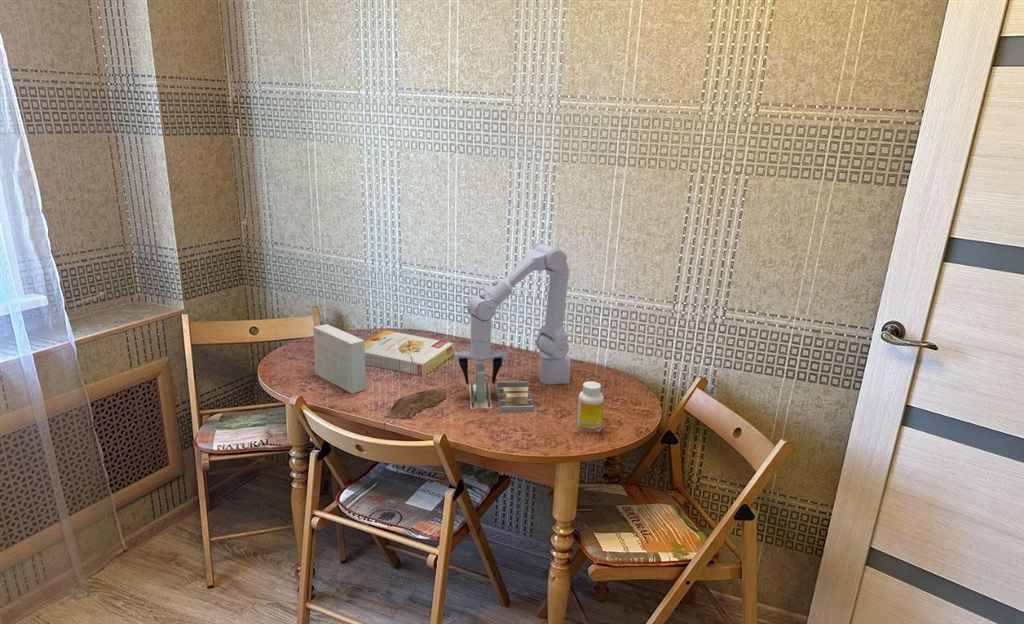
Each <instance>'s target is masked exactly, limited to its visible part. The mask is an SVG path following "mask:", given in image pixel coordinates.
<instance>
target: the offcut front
mask: <svg viewBox="0 0 1024 624" xmlns="http://www.w3.org/2000/svg"><path fill="white" fill-rule="evenodd" d="M506 406H528V394H527V393H506Z"/></svg>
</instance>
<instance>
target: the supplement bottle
mask: <svg viewBox="0 0 1024 624" xmlns="http://www.w3.org/2000/svg"><path fill="white" fill-rule="evenodd" d="M601 388H602V385H601V383H599V382H596V381H589V380H588V381H585V382H583V384H582V391H580V392H579V394H578V401H577V402H578V403H577V416H576V418H577V419H576V426H577V428H578V429H579V430H582V431H586V432H596V431H597V433H599V432H601V430H602V425H603V413H604V412H603V411H604V399H605V398H604V395H603V394H602V392H601V390H602V389H601Z"/></svg>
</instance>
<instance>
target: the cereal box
mask: <svg viewBox="0 0 1024 624" xmlns="http://www.w3.org/2000/svg"><path fill="white" fill-rule="evenodd" d="M364 344H365V366H371V367H375V368H376V367H377V368H380V369H385V368H386V370H390V369H391V370H392V369H393V370H392V371H395V370H398V371H397V372H400V371H403V372H402V373H405V372H407V373H406V374H410V373H413V374H412V375H415V374H418V375H417V376H420V375H423V376H422V377H425V376H424V375H426V374H427V373H428V374H430V373H431V372H432V370H433V369H434V368H435V369H437V368H438V367H440V366H441V365H442V364H444V363H445V362H446V361H448V360H449V359H451V358H452V357H453V356H454V343H453V342H449V341H444V340H439V339H434V338H429V337H424V336H418V335H413V334H409V333H403V332H398V331H393V330H387V329H384V330H382V331H380V332H378V333H376V334H375V335H373V336H371V337H370V338H368V339H367V340H364ZM452 355H453V356H452ZM451 356H452V357H451ZM450 357H451V358H450ZM448 358H449V359H448ZM447 359H448V360H447ZM445 360H446V361H445ZM444 361H445V362H444ZM443 362H444V363H443ZM441 363H442V364H441ZM440 364H441V365H440ZM439 365H440V366H439ZM437 366H438V367H437ZM436 367H437V368H436ZM435 369H434V370H435ZM434 370H433V371H434ZM430 371H431V372H430ZM429 372H430V373H429ZM428 374H427V375H428ZM427 375H426V376H427Z"/></svg>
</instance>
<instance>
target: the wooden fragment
mask: <svg viewBox="0 0 1024 624" xmlns="http://www.w3.org/2000/svg"><path fill="white" fill-rule="evenodd" d="M438 388H439V387H437V388H432V389H429V390H427V389H426V390H423V391H418V392H415V393H413V394H408V395H405V396H402V397H401V398H398V399H397V400H396V402H395V403H394V404H393V406H391V408H389V410H388V412H387V413H386V414H385V415H384V418H387V419H392V420H398V419H397V418H401V419H400V420H406V419H405V418H409V420H410V419H411V418H413V417H414V416H415V415H416V414H417V413H420V412H422V411H423V410H425V409H427V408H431V407H436V406H437V405H439V404H440V402H441V401H444V400H446V398H447V387H446V388H445V389H442V390H439V389H440V388H439V389H438ZM436 389H438V390H439V391H438V390H436ZM442 391H443V392H442ZM444 391H445V392H444ZM427 395H428V396H427ZM425 397H426V398H425ZM424 408H425V409H424ZM419 411H420V412H419ZM410 417H411V418H410Z"/></svg>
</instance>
